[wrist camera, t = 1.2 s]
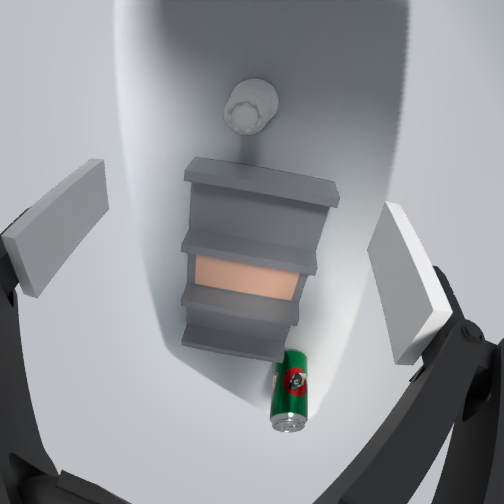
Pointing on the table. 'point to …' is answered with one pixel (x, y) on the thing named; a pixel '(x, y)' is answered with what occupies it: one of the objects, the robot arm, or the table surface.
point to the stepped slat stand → (249, 254)
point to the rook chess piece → (250, 106)
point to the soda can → (290, 393)
